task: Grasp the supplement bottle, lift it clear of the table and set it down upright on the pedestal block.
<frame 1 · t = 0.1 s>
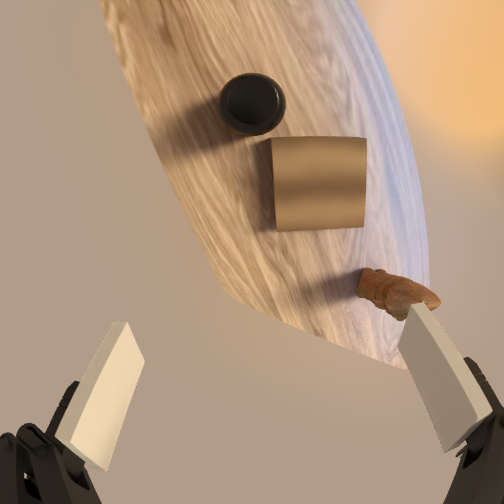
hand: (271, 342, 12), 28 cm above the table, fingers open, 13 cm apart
supplement bottle: (252, 109, 32), on the table
pedestal: (317, 180, 36), on the table
figurine: (379, 270, 42), on the table
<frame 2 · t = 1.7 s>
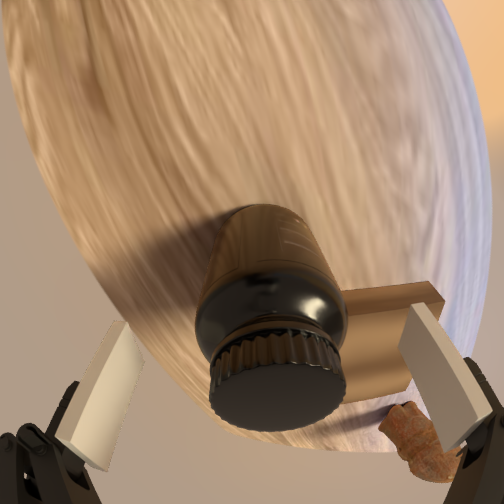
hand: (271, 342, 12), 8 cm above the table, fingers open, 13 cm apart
supplement bottle: (265, 247, 19), on the table
pedestal: (357, 341, 23), on the table
figurine: (408, 401, 30), on the table
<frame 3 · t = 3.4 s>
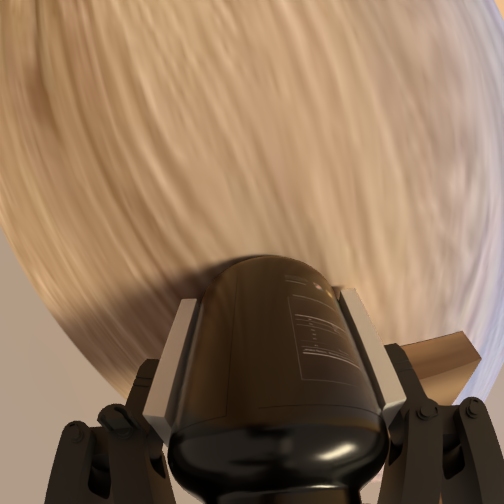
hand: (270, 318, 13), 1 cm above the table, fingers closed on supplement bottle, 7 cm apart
supplement bottle: (269, 308, 14), on the table, touching gripper
pedestal: (375, 398, 18), on the table
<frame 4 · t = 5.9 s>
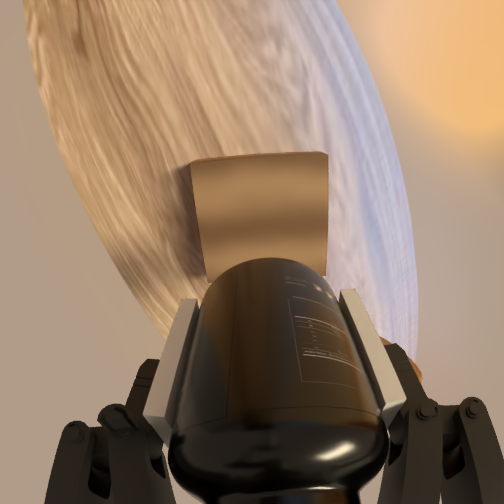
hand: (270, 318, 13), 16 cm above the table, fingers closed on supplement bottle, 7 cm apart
supplement bottle: (269, 309, 14), point 16 cm above the table, touching gripper
pedestal: (262, 213, 28), on the table
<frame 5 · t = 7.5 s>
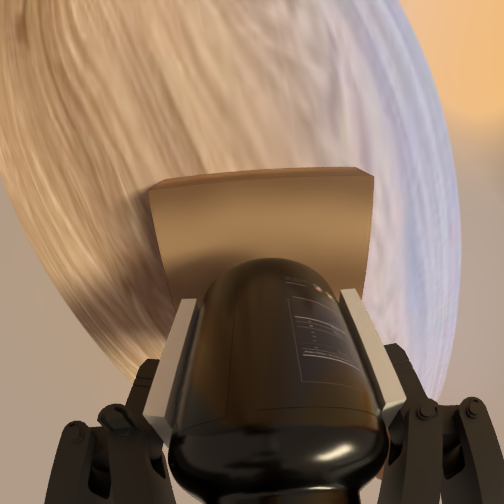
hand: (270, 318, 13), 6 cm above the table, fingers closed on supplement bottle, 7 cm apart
supplement bottle: (269, 309, 14), point 5 cm above the table, touching gripper
pedestal: (265, 258, 19), on the table
when the fingers open (5 cm above the table, at t = 8.6 s): supplement bottle drops 1 cm, resting on pedestal.
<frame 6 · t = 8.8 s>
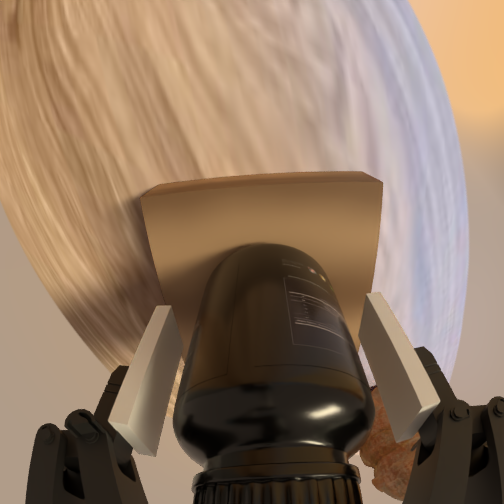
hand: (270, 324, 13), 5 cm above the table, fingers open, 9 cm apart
supplement bottle: (269, 293, 15), point 3 cm above the table, touching pedestal
pedestal: (266, 268, 18), on the table
figurine: (378, 384, 24), on the table
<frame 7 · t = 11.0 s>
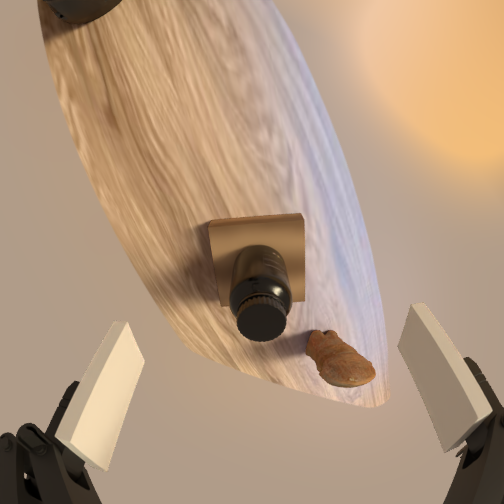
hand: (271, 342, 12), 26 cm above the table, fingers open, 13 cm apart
supplement bottle: (259, 266, 37), point 3 cm above the table, touching pedestal
pedestal: (259, 257, 39), on the table
figurine: (329, 330, 45), on the table
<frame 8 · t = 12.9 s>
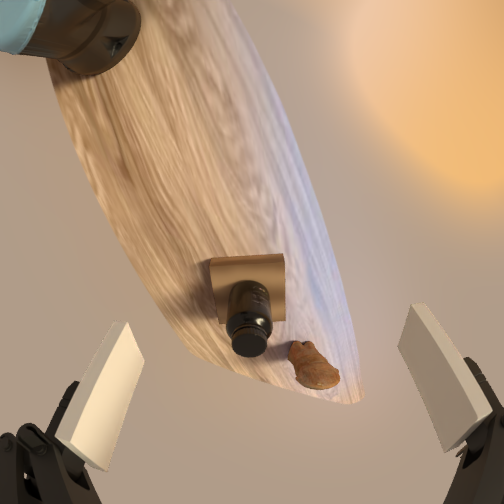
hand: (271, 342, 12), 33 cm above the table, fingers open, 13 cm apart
supplement bottle: (249, 295, 47), point 3 cm above the table, touching pedestal
pedestal: (249, 286, 49), on the table
figurine: (308, 341, 55), on the table
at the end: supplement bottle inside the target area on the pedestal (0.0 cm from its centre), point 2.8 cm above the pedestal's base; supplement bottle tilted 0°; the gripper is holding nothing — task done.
